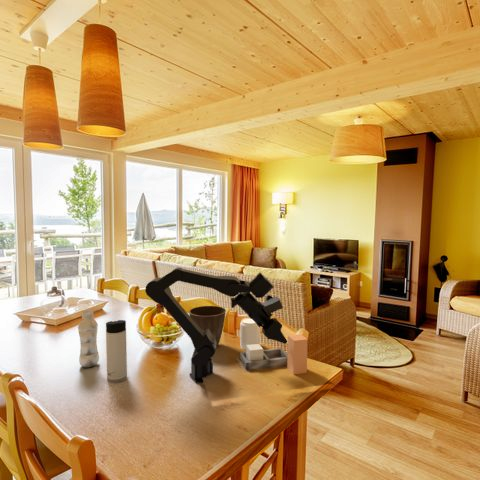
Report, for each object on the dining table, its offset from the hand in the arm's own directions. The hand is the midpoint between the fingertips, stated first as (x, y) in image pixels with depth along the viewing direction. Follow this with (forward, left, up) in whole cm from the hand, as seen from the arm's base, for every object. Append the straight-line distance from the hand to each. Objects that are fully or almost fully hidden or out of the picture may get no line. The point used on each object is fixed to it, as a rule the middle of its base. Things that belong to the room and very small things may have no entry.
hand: (281, 337), depth 114 cm
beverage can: (+2, +24, -13) cm, 27 cm away
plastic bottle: (-57, +40, -13) cm, 71 cm away
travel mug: (-50, +25, -13) cm, 57 cm away
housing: (-1, +9, -13) cm, 16 cm away
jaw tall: (+5, -2, -13) cm, 14 cm away
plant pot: (-13, +33, -13) cm, 38 cm away
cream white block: (-5, +10, -12) cm, 16 cm away
